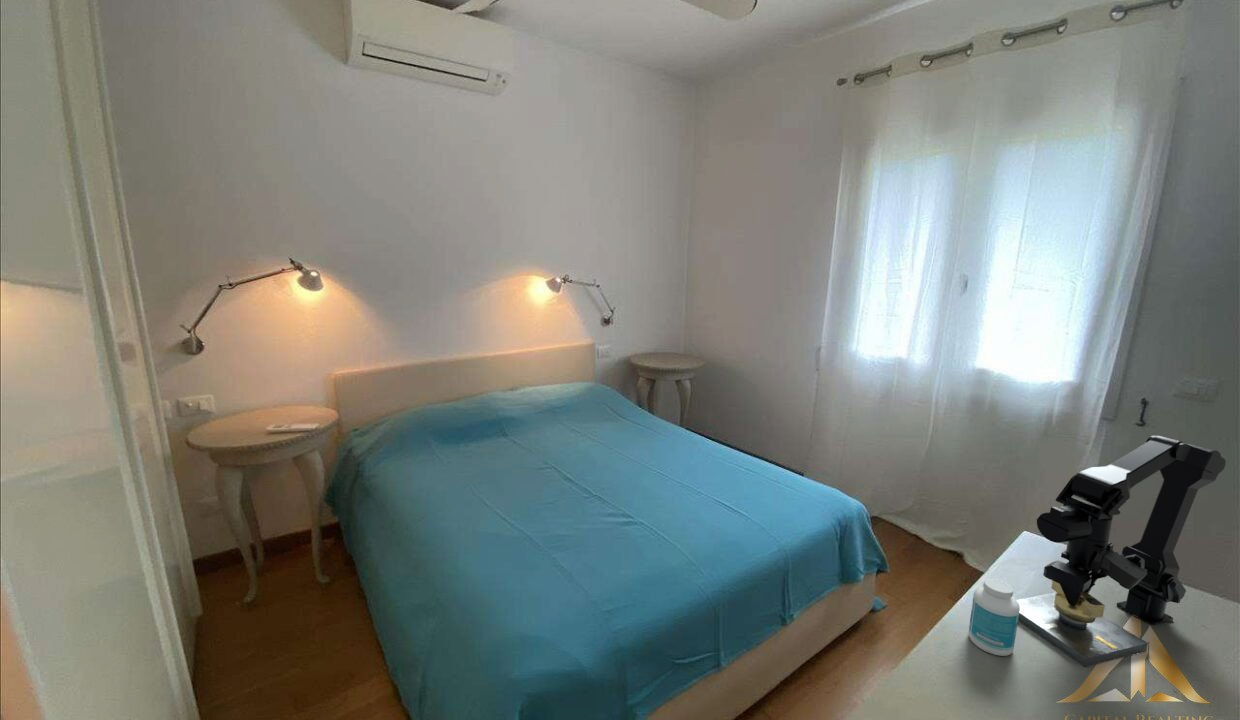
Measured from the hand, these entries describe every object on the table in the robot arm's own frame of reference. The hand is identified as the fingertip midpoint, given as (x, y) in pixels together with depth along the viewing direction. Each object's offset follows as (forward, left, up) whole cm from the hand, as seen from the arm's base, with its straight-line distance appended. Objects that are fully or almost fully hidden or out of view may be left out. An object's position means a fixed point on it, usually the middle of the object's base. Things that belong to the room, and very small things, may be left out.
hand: (1076, 601), depth 100 cm
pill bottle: (+20, -1, -7) cm, 21 cm away
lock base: (0, 0, -7) cm, 7 cm away
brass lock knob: (0, 0, -3) cm, 3 cm away
